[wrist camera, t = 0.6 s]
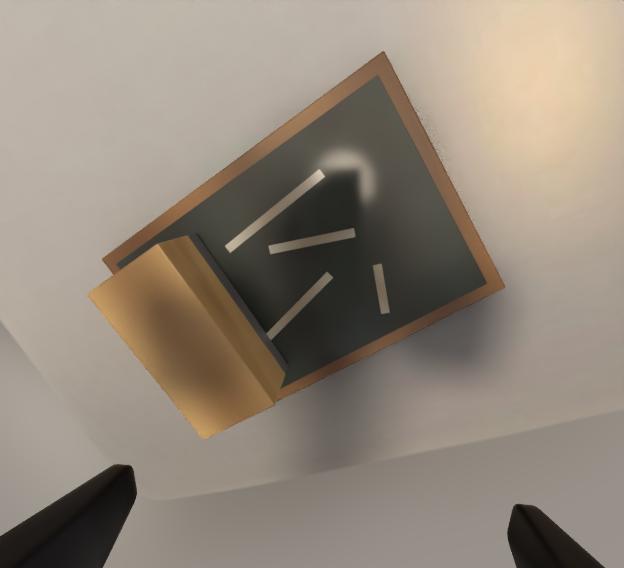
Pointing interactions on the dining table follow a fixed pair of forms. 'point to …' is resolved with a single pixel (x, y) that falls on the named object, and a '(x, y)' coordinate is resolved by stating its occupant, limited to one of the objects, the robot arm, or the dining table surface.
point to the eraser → (193, 334)
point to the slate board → (336, 229)
